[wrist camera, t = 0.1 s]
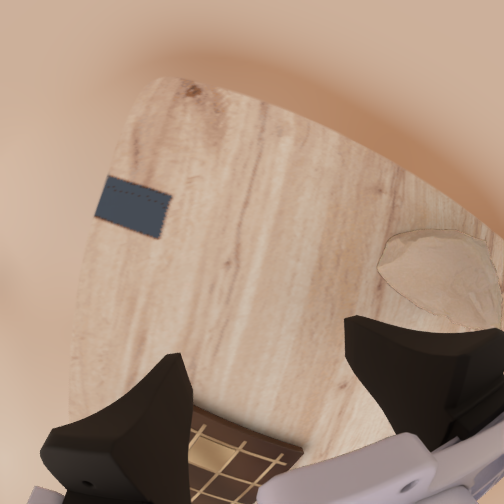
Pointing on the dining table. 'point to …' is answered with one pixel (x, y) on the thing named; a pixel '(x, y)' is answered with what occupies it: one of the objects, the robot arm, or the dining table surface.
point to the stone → (445, 275)
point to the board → (232, 460)
